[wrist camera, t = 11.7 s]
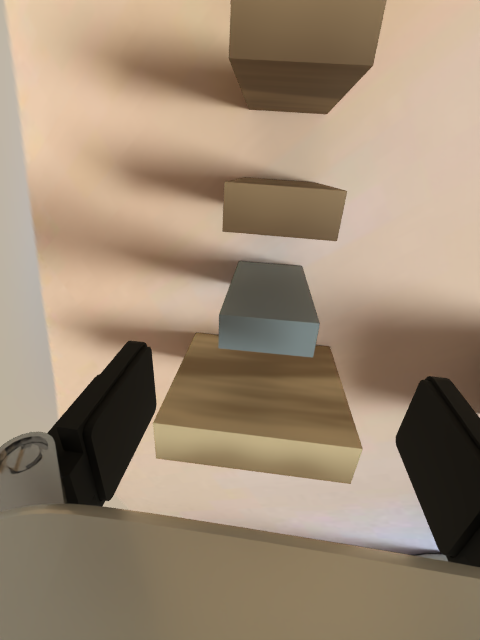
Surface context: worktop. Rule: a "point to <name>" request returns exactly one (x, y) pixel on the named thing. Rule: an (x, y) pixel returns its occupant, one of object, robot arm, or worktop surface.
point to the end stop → (258, 413)
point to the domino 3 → (269, 311)
